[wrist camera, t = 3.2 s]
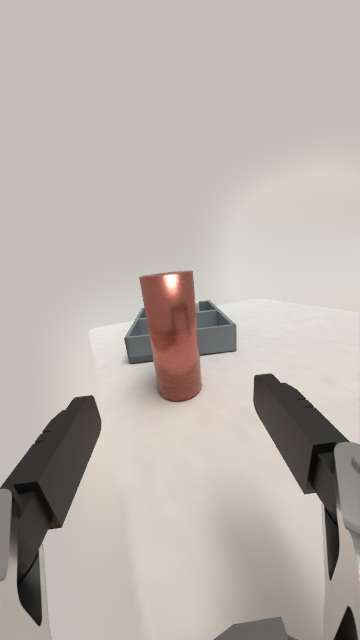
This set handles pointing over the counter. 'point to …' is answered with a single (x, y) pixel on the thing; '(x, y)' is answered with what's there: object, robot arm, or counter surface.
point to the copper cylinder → (173, 332)
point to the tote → (211, 329)
